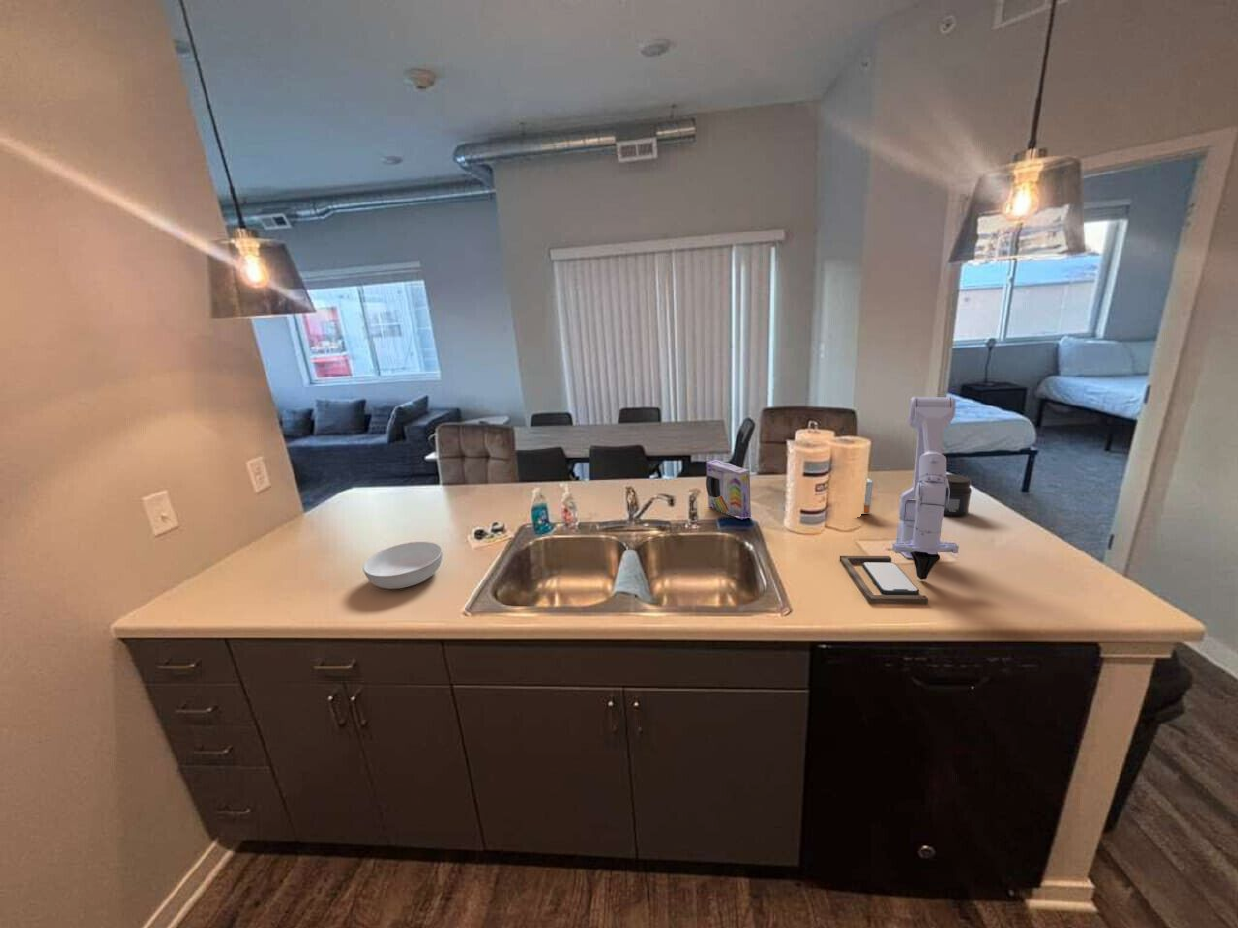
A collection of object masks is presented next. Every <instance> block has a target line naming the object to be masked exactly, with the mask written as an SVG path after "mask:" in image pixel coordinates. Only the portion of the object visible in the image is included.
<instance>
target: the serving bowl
mask: <svg viewBox="0 0 1238 928" xmlns="http://www.w3.org/2000/svg"><path fill="white" fill-rule="evenodd" d="M442 561H443V548H442V546H441V545H440V544H438V543H434V542H431V541H411V542H406V543H401V544H397V545H393V546H390V547H387V548H385V549H382V550H380V551H379V552H376V553H375V554H373V555H371V556H370V557H369V558H368V559H367V560H365V562H364V564H363V566H362V571H363V574H364V575H365V578H367V580H368V581H369V582H370V583H371V584H373V585H375V586H377V587H379V588H382V589H390V590H391V589H393V590H397V589H404V588H407V587H412V586H415V585H418V584H420V583H422V582H424V581H426V580H427V579H429V578H430V577H432V576H433V575H434V574H435V573H436V572H437V571H438V570H439V568H440V566H441V564H442Z"/></svg>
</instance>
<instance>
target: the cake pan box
mask: <svg viewBox="0 0 1238 928" xmlns="http://www.w3.org/2000/svg"><path fill="white" fill-rule="evenodd" d="M705 465H706V478H705V488H706V492H707V502H708V503H707V504H708V506H709V507H708V508H710V507H712V508H711V509H713V508H714V509H713V510H715V509H716V510H715V511H717V510H718V511H717V512H720V511H721V512H720V513H722V512H723V513H722V514H724V513H726V514H725V515H727V514H729V515H733V516H739V517H752V516H751V515H752V513H751V476H750V475H751V474H750V473H751V472H750V469H748V468H747V469H746V468H743V467H740V466H737V465H734V464H732V463H729V462H724V461H721V460H718V459H713V460H711V461H707V462H706V464H705ZM729 515H728V516H729Z"/></svg>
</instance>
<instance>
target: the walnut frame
mask: <svg viewBox="0 0 1238 928" xmlns="http://www.w3.org/2000/svg"><path fill="white" fill-rule="evenodd" d="M838 560H839V562H840V564H841V565H842V567H843V568H844V570H845V572H847V574H848V576H849V577H850V578H851V580H852V581H853V582H854V584H855V585H856V588H857V589H858V590H859V591H860V593H861V594H862V596H863V598H864V599H865V600H866V602H867V603H868V604H869V605H924V606H925V605H928V604H929V598H928V597H927V595H925V594H924V595H883V594H874V593H873V592H872V590H871V588H869V587H868V585H867V583H866V582H865V581H864V579H863V578H862V577H861V575H860V574H859V572H858V571H857V569H855V567H854V566H853V564H862V563H863V562H891V563H892V556H890V555H839V559H838Z"/></svg>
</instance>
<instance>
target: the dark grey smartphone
mask: <svg viewBox="0 0 1238 928" xmlns="http://www.w3.org/2000/svg"><path fill="white" fill-rule="evenodd" d="M861 567H862V569H863V570H864V572H865V573H866V575H868V577H869V579H870V580H871V581H872V583H873V585H875V587H876V588H877V590H878V592H879V593H880V594H881V595H919V594H920V589H919V588H918V587H917V586H916V585H915V584H914V582H913V581H912V580H910V578H909V577H908V576H907V575H906V574H905V572H903V571H902V569H901V568H900V567H899V566H898V565H897V564H896V563H894V562H892V561H891V562H863V563H861Z"/></svg>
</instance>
